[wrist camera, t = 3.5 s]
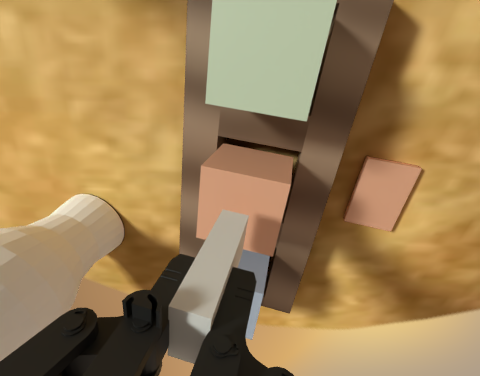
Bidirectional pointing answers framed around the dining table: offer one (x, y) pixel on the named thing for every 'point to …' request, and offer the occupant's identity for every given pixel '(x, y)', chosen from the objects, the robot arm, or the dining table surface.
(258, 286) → the blue-grey cube
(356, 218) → the swatch
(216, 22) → the sage green cube
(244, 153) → the salmon cube
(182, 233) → the walnut board
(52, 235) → the cup
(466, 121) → the dining table surface
